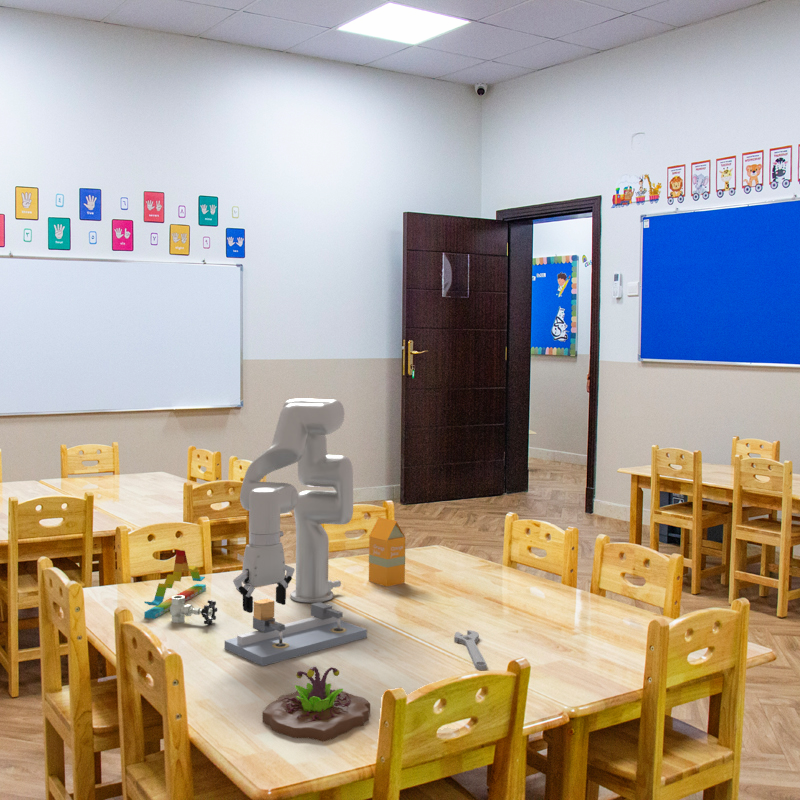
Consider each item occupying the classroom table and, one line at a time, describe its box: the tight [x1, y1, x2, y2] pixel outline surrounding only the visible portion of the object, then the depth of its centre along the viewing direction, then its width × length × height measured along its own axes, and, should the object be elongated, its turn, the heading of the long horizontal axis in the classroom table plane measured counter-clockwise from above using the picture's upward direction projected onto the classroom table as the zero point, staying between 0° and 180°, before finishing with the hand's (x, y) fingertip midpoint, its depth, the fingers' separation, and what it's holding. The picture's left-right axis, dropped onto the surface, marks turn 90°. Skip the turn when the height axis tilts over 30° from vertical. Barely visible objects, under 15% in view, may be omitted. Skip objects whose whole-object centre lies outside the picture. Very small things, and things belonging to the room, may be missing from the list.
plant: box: [262, 666, 371, 742], centre depth 180 cm, size 20×20×11 cm
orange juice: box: [368, 516, 406, 588], centre depth 285 cm, size 8×9×20 cm
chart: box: [143, 549, 207, 620], centre depth 258 cm, size 30×3×15 cm, turn 166°
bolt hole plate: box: [224, 602, 368, 667], centre depth 225 cm, size 32×16×7 cm, turn 134°
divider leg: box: [252, 598, 285, 643], centre depth 220 cm, size 4×10×9 cm, turn 44°
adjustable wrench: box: [453, 630, 487, 671], centre depth 221 cm, size 25×6×2 cm, turn 0°
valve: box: [169, 594, 218, 626], centre depth 241 cm, size 7×7×12 cm
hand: (264, 607), depth 222 cm, fingers open, 9 cm apart
